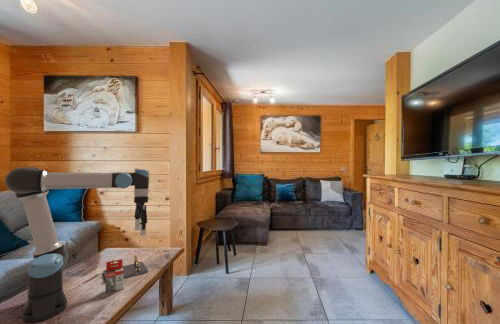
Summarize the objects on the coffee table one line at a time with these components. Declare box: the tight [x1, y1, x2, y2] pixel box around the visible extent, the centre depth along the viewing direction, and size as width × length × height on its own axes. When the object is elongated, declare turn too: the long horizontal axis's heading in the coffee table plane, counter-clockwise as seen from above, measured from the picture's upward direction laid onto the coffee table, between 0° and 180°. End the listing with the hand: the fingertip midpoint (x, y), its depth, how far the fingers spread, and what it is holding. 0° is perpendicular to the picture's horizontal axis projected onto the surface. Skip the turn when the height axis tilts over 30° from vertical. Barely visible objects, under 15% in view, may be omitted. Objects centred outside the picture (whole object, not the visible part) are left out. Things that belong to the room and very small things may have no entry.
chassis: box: [102, 255, 149, 283], centre depth 143 cm, size 22×16×7 cm
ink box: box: [105, 258, 125, 294], centre depth 123 cm, size 4×8×15 cm, turn 123°
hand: (140, 232), depth 136 cm, fingers open, 13 cm apart
